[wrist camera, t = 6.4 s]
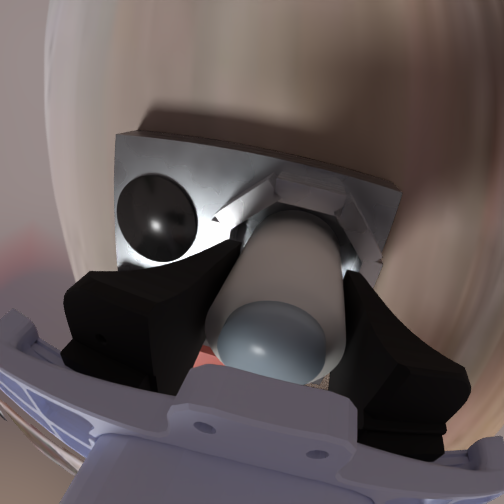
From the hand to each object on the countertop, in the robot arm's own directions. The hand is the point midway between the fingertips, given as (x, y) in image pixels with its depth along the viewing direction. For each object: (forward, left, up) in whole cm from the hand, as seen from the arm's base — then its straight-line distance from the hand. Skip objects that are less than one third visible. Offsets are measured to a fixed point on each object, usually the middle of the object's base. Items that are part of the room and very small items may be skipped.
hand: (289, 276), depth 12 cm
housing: (-2, +3, -4) cm, 6 cm away
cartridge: (0, 0, -2) cm, 2 cm away
